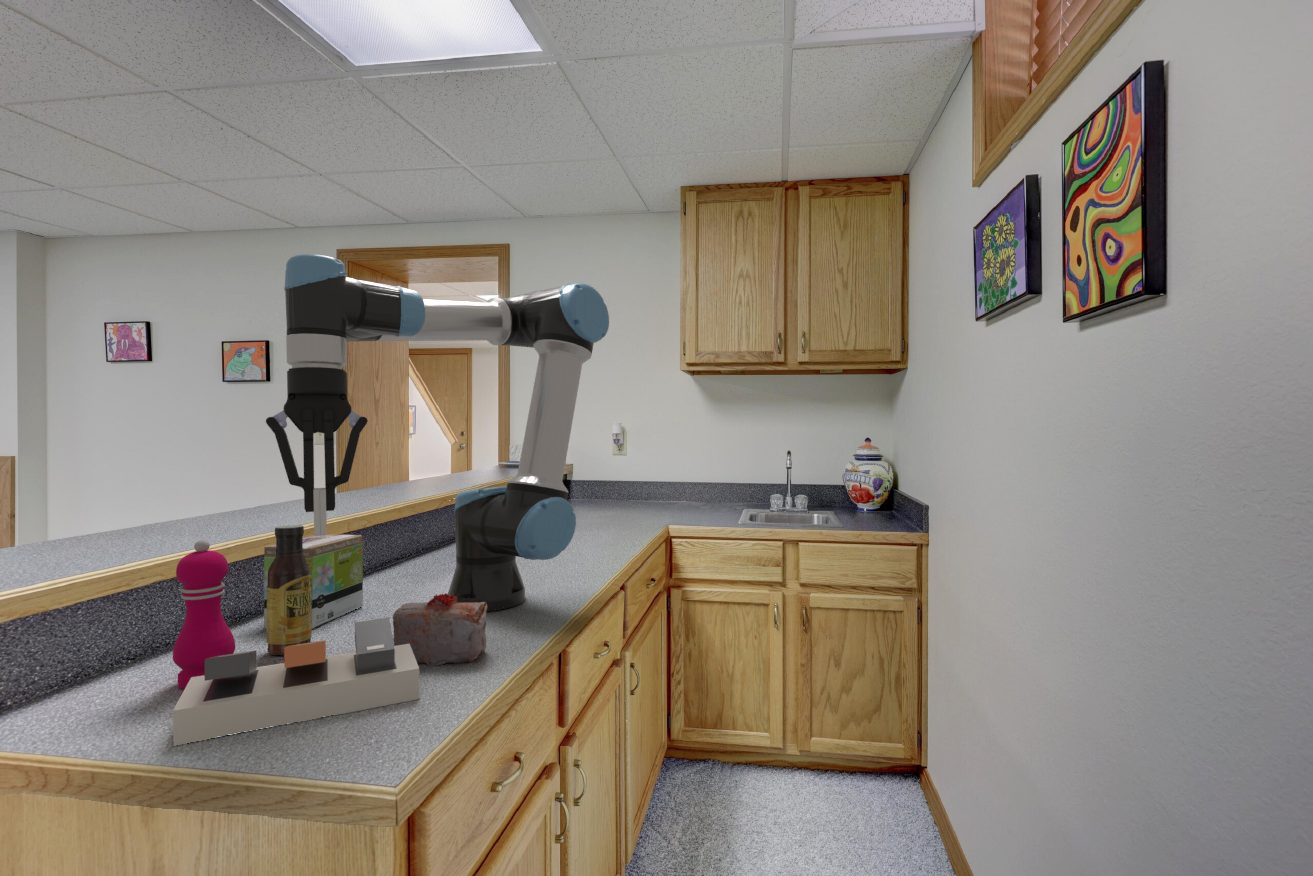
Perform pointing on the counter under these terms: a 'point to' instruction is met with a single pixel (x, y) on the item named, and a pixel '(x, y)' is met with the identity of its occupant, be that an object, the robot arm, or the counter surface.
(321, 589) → the tea box
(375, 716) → the counter surface
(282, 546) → the sauce bottle
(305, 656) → the rocker middle
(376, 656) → the rocker end
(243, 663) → the block
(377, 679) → the rocker switch panel
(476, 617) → the food item
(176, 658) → the pepper mill
